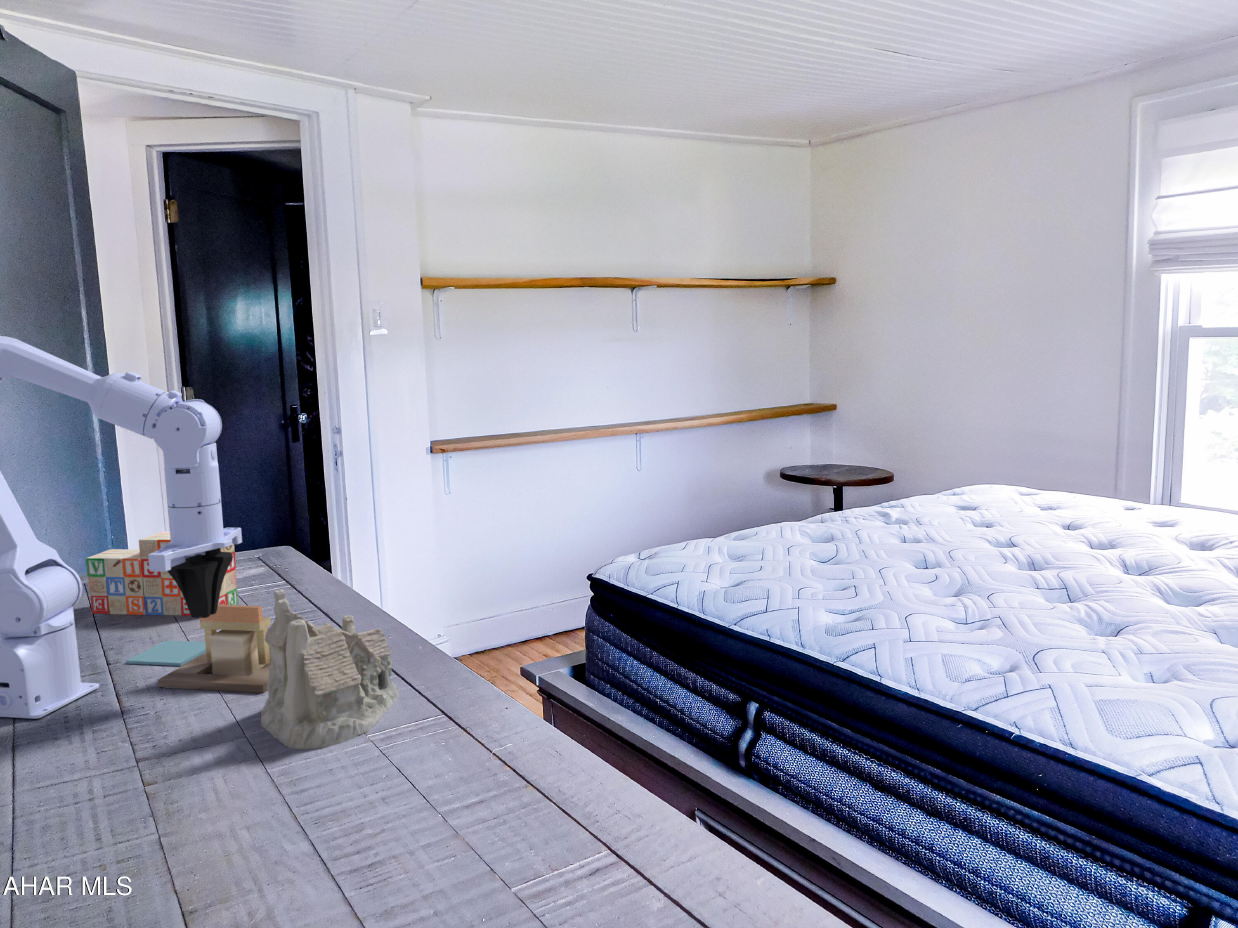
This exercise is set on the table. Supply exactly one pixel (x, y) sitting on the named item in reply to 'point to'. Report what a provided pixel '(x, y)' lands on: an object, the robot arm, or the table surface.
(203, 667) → the puzzle board
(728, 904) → the table surface
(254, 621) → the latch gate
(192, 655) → the teal square plate
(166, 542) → the stack of blocks
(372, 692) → the ceramic cottage
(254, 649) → the birch block
